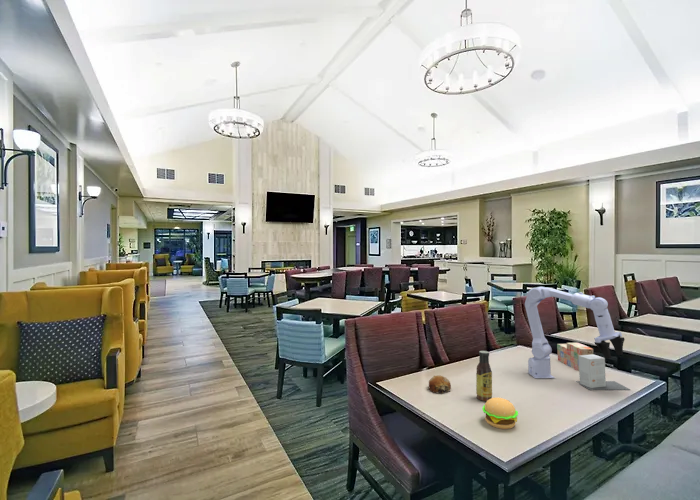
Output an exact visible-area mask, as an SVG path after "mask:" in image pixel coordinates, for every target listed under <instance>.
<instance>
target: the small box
mask: <svg viewBox="0 0 700 500" xmlns="http://www.w3.org/2000/svg"><path fill="white" fill-rule="evenodd" d="M578 374H579V381H580V384H582V385H585V386H587V387H589V388H597V387H606V381H607V379H606V358H605V357H604V356H603V357H602V356H599V355H596V354H594V353H593V354H591V355H580V356H579V371H578ZM580 384H579V385H580ZM582 385H581V386H582Z"/></svg>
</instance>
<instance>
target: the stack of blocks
mask: <svg viewBox="0 0 700 500" xmlns="http://www.w3.org/2000/svg"><path fill="white" fill-rule="evenodd" d="M556 349H557V360H558V362H559V361H560V362H561V363H563V364H564V365H566V366H568V367H570V368H571V369H574V370H575V371H577V370H578V371H577V372H579V356H580V355H591V354H594V348H592V347H590V346H587V345H585V344H582V343H580V342H566V343H557V344H556Z"/></svg>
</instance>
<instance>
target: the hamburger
mask: <svg viewBox="0 0 700 500" xmlns="http://www.w3.org/2000/svg"><path fill="white" fill-rule="evenodd" d="M482 411H483V413H484V414H485V417H484V419H485V421H486V422H487V424H488V425H489V426H491V427H494V428H496V429H502V430H508V429H512V428H514V427H515V425H516V423H517V422H518V416H519V411H518V410H516V407H515V406H514V404H513V403H512V402H510V400H508V399H506V398H503V397H492V398H491V399H489V400H487V401H485V403H484V405H483V406H482Z"/></svg>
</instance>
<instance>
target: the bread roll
mask: <svg viewBox="0 0 700 500" xmlns="http://www.w3.org/2000/svg"><path fill="white" fill-rule="evenodd" d="M428 389H429V391H430V392H432V393H436V394H447V393H449V392H450V390H452V386H451V381H450V379H448V378H447V377H445V376H444V375H440V374H439V375H433V377H431V378H430V379H429V381H428Z"/></svg>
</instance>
